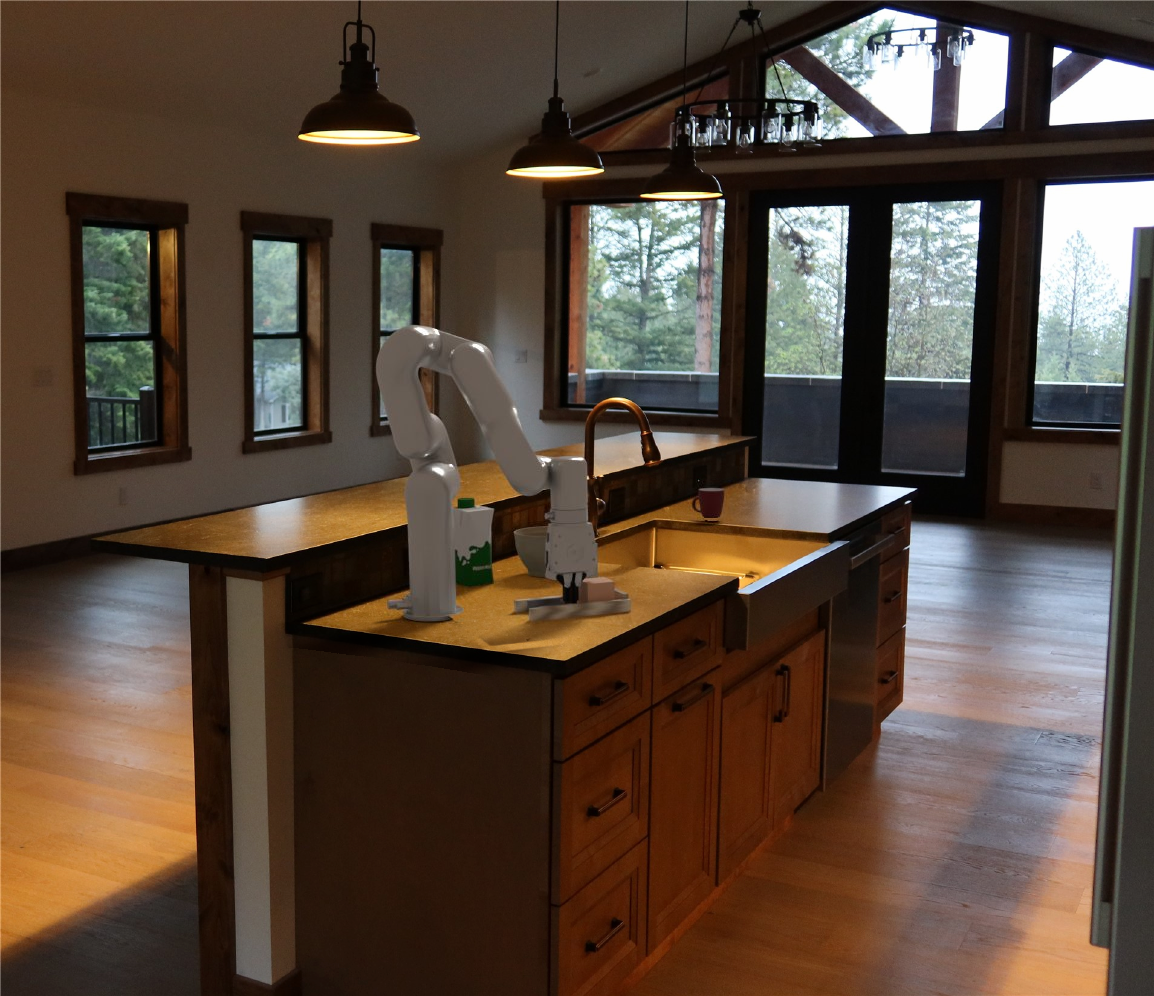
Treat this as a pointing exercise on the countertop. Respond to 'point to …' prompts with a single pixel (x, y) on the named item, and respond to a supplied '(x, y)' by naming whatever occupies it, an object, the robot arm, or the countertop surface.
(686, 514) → the countertop surface
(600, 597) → the block
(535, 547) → the planter bowl
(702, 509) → the mug
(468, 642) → the countertop surface
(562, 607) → the chute
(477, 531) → the milk carton
